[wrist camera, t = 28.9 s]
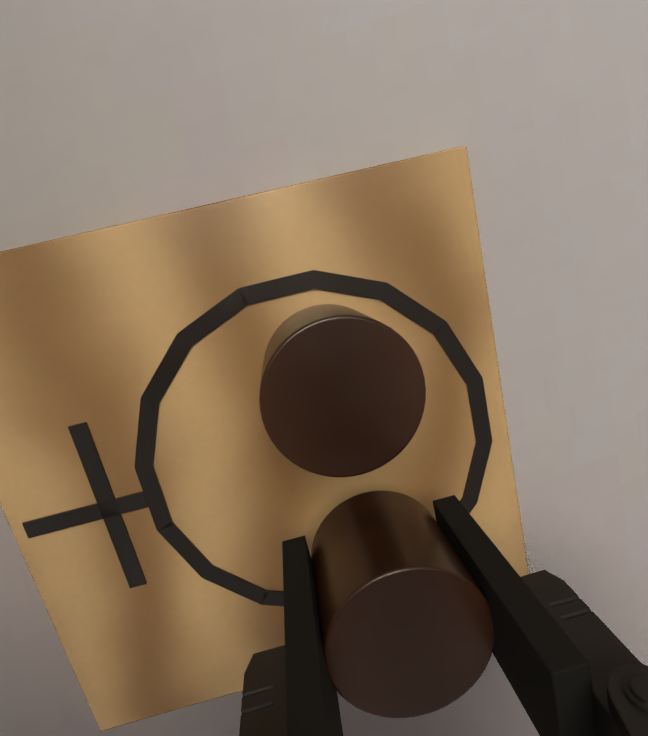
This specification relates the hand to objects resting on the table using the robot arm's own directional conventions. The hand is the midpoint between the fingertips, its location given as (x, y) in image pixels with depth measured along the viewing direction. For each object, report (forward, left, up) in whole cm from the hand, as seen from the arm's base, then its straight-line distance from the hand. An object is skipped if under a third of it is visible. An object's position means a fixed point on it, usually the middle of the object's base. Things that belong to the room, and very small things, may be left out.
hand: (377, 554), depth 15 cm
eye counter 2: (0, +6, -2) cm, 6 cm away
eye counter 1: (0, 0, 0) cm, 0 cm away
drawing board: (-3, +3, -3) cm, 5 cm away
